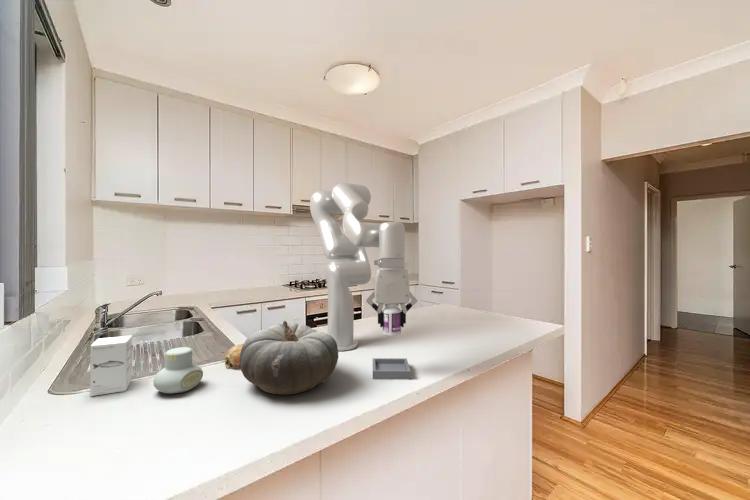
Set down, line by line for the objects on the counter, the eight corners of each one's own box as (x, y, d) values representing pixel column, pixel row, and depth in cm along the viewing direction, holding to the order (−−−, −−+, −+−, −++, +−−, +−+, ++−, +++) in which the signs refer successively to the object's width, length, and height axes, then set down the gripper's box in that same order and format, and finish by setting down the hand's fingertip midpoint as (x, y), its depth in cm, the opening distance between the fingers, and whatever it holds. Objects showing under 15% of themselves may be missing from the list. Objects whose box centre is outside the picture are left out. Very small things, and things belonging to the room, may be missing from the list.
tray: (372, 379, 92) (372, 371, 92) (372, 365, 103) (372, 358, 103) (410, 379, 93) (410, 371, 93) (406, 365, 103) (406, 358, 103)
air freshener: (172, 400, 79) (172, 358, 79) (146, 396, 81) (146, 355, 81) (208, 382, 89) (208, 345, 89) (184, 379, 92) (184, 342, 91)
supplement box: (89, 397, 80) (88, 345, 80) (97, 386, 86) (97, 337, 86) (126, 391, 83) (126, 341, 83) (132, 380, 90) (132, 334, 90)
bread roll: (222, 376, 103) (212, 356, 99) (244, 353, 111) (236, 334, 108) (247, 381, 99) (238, 361, 96) (268, 357, 108) (261, 337, 104)
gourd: (281, 352, 107) (285, 300, 104) (350, 376, 98) (357, 321, 95) (218, 391, 84) (221, 326, 81) (301, 427, 75) (308, 357, 72)
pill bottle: (401, 332, 100) (401, 300, 100) (400, 336, 94) (400, 302, 94) (383, 331, 100) (383, 299, 100) (381, 336, 95) (381, 302, 95)
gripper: (362, 265, 94) (362, 329, 94) (422, 264, 94) (422, 329, 94) (362, 263, 101) (362, 323, 101) (419, 263, 101) (419, 323, 101)
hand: (391, 325), depth 97 cm, fingers closed on pill bottle, 5 cm apart
